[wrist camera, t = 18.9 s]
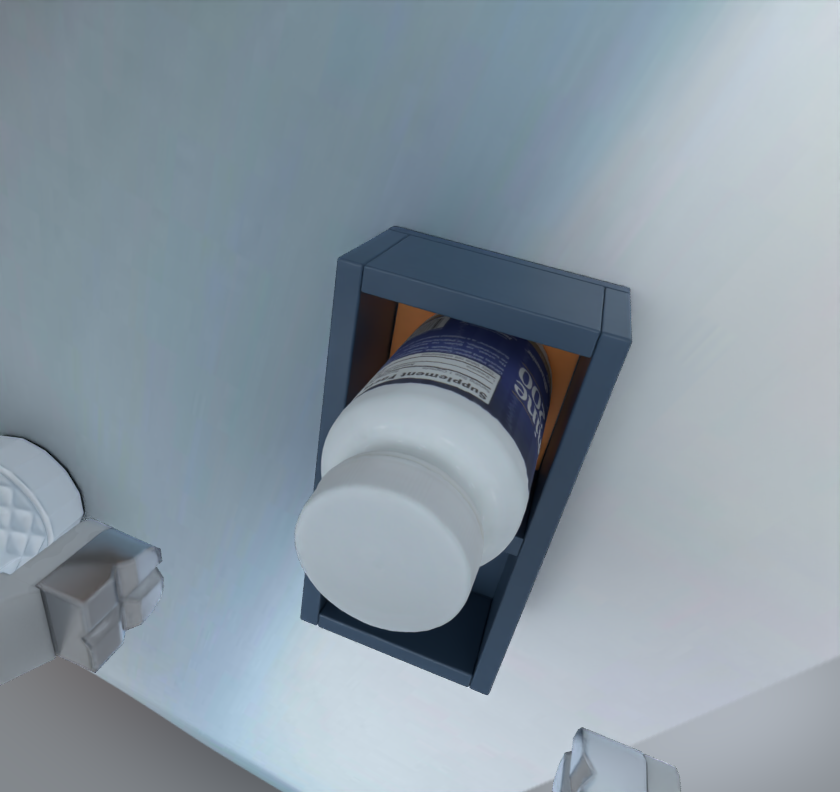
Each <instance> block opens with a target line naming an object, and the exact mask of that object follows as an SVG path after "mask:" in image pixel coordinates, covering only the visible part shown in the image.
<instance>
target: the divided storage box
mask: <svg viewBox="0 0 840 792" xmlns="http://www.w3.org/2000/svg"><path fill="white" fill-rule="evenodd" d="M435 314H440V315H443V316H447V317H450V318H453V319H457V320H460V321H464V322H467V323H471V324H474V325H478V326H481V327H484V328H488V329H491V330H495V331H498V332H502V333H505V334H509V335H512V336H515V337H519V338H522V339H526V340H529V341H533V342H536V343H540V344H542V346H543V348H544V350H545V352H546V353H547V356H548V360H549V363H550V367H551V371H552V393H551V399H550V406H549V410H548V415H547V419H546V424H545V428H544V433H543V437H542V442H541V447H540V452H539V455H538V459H537V463H536V468H535V472H534V476H533V481H532V485H531V490H530V494H529V499H528V503H527V507H526V511H525V513H524V516H523V519H522V522H521V525H520V527H519V529H518V531H517V533H516V535H515V536H514V538H513V540H512V541H511V542H510V544H509V545H508V546H507V547H506V548H505V550H504V551H502V552H501V553H500V554H499V555H498V556H497V557H495V558H494V559H492V560H491V561H489V562H488V563H486V564H484V565H482V566H480V567H479V570H478V572H477V575H476V578H475V581H474V583H473V586H472V589H471V592H470V594H469V597H468V599H467V601H466V603H465V604H464V606H463V608H462V609H461V610H460V612H459V613H458V614H457V615H456V616H455V617H454V618H453V619H452V620H450V621H449V622H448V623H446V624H444V625H442V626H440V627H436V628H434V629H431V630H428V631H420V632H399V631H390V630H386V629H381V628H378V627H374V626H371V625H369V624H366V623H364V622H362V621H360V620H358V619H356V618H354V617H352V616H350V615H348V614H347V613H345V612H344V611H342V610H340V609H339V608H338V607H336V606H335V605H334V604H332V603H331V602H330V601H329V600H328V599H326V598H325V597H324V596H323V595H322V594H321V593H320V592H319V591H318V590H317V588H316V587H315V586H314V585H313V583H312V582H311V581H310V579H309V578H308V576H307V575H306V573H305V578H304V588H303V597H302V607H301V616H300V618H301V619H302V620H304V621H306V622H309V623H311V624H314V625H317V624H318V626H319V627H321V628H324V629H326V630H328V631H331V632H333V633H336V634H338V635H341V636H343V637H346V638H348V639H351V640H353V641H355V642H358V643H360V644H363V645H365V646H368V647H370V648H373V649H375V650H377V651H380V652H382V653H385V654H387V655H390V656H392V657H395V658H397V659H399V660H402V661H404V662H407V663H409V664H412V665H414V666H417V667H419V668H421V669H424V670H426V671H429V672H431V673H434V674H436V675H439V676H441V677H443V678H446V679H448V680H451V681H453V682H456V683H458V684H461V685H463V686H466V687H468V686H470V688H471V689H473V690H475V691H478V692H480V693H482V694H485V695H488V694H489V693H490V690H491V688H492V685H493V683H494V680H495V678H496V676H497V673H498V671H499V668H500V666H501V663H502V661H503V658H504V656H505V653H506V651H507V648H508V646H509V644H510V641H511V639H512V636H513V634H514V631H515V629H516V626H517V624H518V621H519V619H520V617H521V614H522V612H523V609H524V607H525V604H526V602H527V599H528V597H529V594H530V592H531V589H532V587H533V585H534V582H535V580H536V577H537V575H538V572H539V570H540V567H541V565H542V562H543V560H544V558H545V555H546V553H547V550H548V548H549V545H550V543H551V540H552V538H553V535H554V533H555V530H556V528H557V526H558V523H559V521H560V518H561V516H562V513H563V511H564V508H565V506H566V503H567V501H568V499H569V496H570V494H571V491H572V489H573V486H574V484H575V481H576V479H577V476H578V474H579V471H580V469H581V467H582V464H583V462H584V459H585V457H586V454H587V452H588V449H589V447H590V444H591V442H592V440H593V437H594V435H595V432H596V430H597V427H598V425H599V422H600V420H601V417H602V415H603V412H604V410H605V408H606V405H607V403H608V400H609V398H610V395H611V393H612V390H613V388H614V385H615V383H616V381H617V378H618V376H619V373H620V371H621V368H622V366H623V363H624V361H625V358H626V356H627V353H628V351H629V349H630V346H631V344H632V329H631V302H630V289H629V288H627V287H623V286H619V285H616V284H612V283H608V282H604V281H600V280H597V279H593V278H589V277H585V276H582V275H578V274H574V273H570V272H567V271H563V270H559V269H555V268H551V267H548V266H544V265H540V264H536V263H533V262H529V261H525V260H521V259H517V258H514V257H510V256H506V255H502V254H499V253H495V252H491V251H487V250H484V249H480V248H476V247H472V246H468V245H465V244H461V243H457V242H453V241H450V240H446V239H442V238H438V237H434V236H431V235H427V234H423V233H419V232H416V231H412V230H408V229H404V228H401V227H397V226H393V227H391V228H389V229H388V230H386V231H385V232H383V233H381V234H379V235H378V236H376V237H374V238H372V239H371V240H369V241H367V242H365V243H364V244H362V245H360V246H358V247H357V248H355V249H353V250H351V251H350V252H348V253H346V254H344V255H343V256H341V257H339V258H338V261H337V271H336V281H335V290H334V300H333V309H332V319H331V329H330V338H329V348H328V357H327V367H326V377H325V386H324V396H323V405H322V415H321V425H320V434H319V444H318V453H317V463H316V473H315V482H314V491H315V490H316V488H317V486H318V484H319V482H320V481H321V479H322V477H321V459H322V451H323V447H324V443H325V440H326V438H327V435H328V433H329V431H330V429H331V427H332V425H333V424H334V422H335V421H336V419H337V418H338V417H339V415H340V414H341V412H342V411H343V410H344V409H345V408H346V407H347V406H348V405H349V404H350V403H351V401H352V400H353V399H354V398H355V397H356V396H357V395H358V394H359V392H360V391H361V390H362V389H363V388H364V387H365V386H366V385H367V383H368V382H369V381H370V380H371V379H372V378H373V377H374V376H375V375H376V373H377V372H378V371H379V370H380V369H381V368H382V366H383V365H384V364H385V363H386V362H387V361H388V360H389V359H390V357H391V356H392V355H393V354H394V353H395V352H396V351H397V350H398V349H399V347H400V346H401V345H402V344H403V343H404V342H405V341H406V340H407V339H408V338H409V336H411V335H412V334H413V333H414V331H415V330H416V329H417V328H418V327H419V326H421V325H422V324H423V323H424V322H425V321H426V320H428V319H429V318H430V317H432V316H434V315H435ZM313 493H314V492H313Z"/></svg>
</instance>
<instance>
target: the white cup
mask: <svg viewBox="0 0 840 792" xmlns="http://www.w3.org/2000/svg"><path fill="white" fill-rule="evenodd" d="M83 514H84V512H83V507H82V501H81V497H80V493H79V491H78V489H77V488H76V486H75V484H74V483H73V481H72V479H71V478H70V476H69V474H68V473H67V471H66V470H65V469H64V468H63V467H62V466H61V465H60V464H59V463H58V462H57V461H56V460H55V459H54V458H53V457H52V456H51V455H50V454H49V453H47V452H46V451H45V450H43V449H42V448H40V447H38V446H36V445H35V444H33V443H31V442H29V441H27V440H25V439H23V438H17V437H10V436H0V573H2V572H5V573H7V574H9V575H10V574H12V573H13V572H14V571H16V570H17V569H18V568H20V567H21V566H22V565H24V564H25V563H26V562H28V561H29V560H30V559H32V558H33V557H34V556H36V555H37V554H38V553H40V552H41V551H42V550H44V549H45V548H47V547H48V546H49V545H51V544H52V543H53V542H55V541H56V540H57V539H59V538H60V537H61V536H63V535H64V534H65V533H67V532H68V531H69V530H71V529H72V528H73V527H75V526H76V525H77V524H79V523H80V521H81V519H82V516H83Z"/></svg>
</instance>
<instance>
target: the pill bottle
mask: <svg viewBox="0 0 840 792" xmlns="http://www.w3.org/2000/svg"><path fill="white" fill-rule="evenodd" d="M551 393H552V371H551V367H550V363H549V360H548V356H547V353H546V352H545V350H544V348H543V346H542V344H540V343H536V342H533V341H529V340H526V339H522V338H519V337H515V336H512V335H509V334H505V333H502V332H498V331H495V330H491V329H488V328H484V327H481V326H478V325H474V324H471V323H467V322H464V321H460V320H457V319H453V318H450V317H447V316H443V315H440V314H435V315H434V316H432V317H430V318H429V319H428V320H426V321H425V322H424V323H423V324H422V325H421V326H419V327H418V328H417V329H416V330H415V331H414V333H413V334H412V335H411V336H409V338H408V339H407V340H406V341H405V342H404V343H403V344H402V345H401V346H400V347H399V349H398V350H397V351H396V352H395V353H394V354H393V355H392V356H391V357H390V359H389V360H388V361H387V362H386V363H385V364H384V365H383V366H382V368H381V369H380V370H379V371H378V372H377V373H376V375H375V376H374V377H373V378H372V379H371V380H370V381H369V382H368V383H367V385H366V386H365V387H364V388H363V389H362V390H361V391H360V392H359V394H358V395H357V396H356V397H355V398H354V399H353V400H352V401H351V403H350V404H349V405H348V406H347V407H346V408H345V409H344V410H343V411H342V412H341V414H340V415H339V417H338V418H337V419H336V421H335V422H334V424H333V425H332V427H331V429H330V431H329V433H328V435H327V438H326V440H325V443H324V447H323V451H322V459H321V477H322V479H321V481H320V482H319V484H318V486H317V488H316V490H315V491H314V493H313V494H312V495H311V497H310V498H309V500H308V501H307V502H306V504H305V505H304V507H303V509H302V511H301V513H300V515H299V517H298V520H297V523H296V527H295V548H296V551H297V554H298V558H299V561H300V563H301V566H302V568H303V570H304V571H305V573H306V575H307V576H308V578H309V579H310V581H311V582H312V583H313V585H314V586H315V587H316V588H317V590H318V591H319V592H320V593H321V594H322V595H323V596H324V597H325V598H326V599H328V600H329V601H330V602H331V603H332V604H334V605H335V606H336V607H338V608H339V609H340V610H342V611H344V612H345V613H347V614H348V615H350V616H352V617H354V618H356V619H358V620H360V621H362V622H364V623H366V624H369V625H371V626H374V627H378V628H381V629H386V630H390V631H399V632H420V631H428V630H431V629H434V628H436V627H440V626H442V625H444V624H446V623H448V622H449V621H450V620H452V619H453V618H454V617H455V616H456V615H457V614H458V613H459V612H460V610H461V609H462V608H463V606H464V604H465V603H466V601H467V599H468V597H469V594H470V592H471V589H472V586H473V583H474V581H475V578H476V575H477V572H478V570H479V567H480V566H482V565H484V564H486V563H488V562H489V561H491V560H492V559H494V558H495V557H497V556H498V555H499V554H500V553H501V552H502V551H504V550H505V548H506V547H507V546H508V545H509V544H510V542H511V541H512V540H513V538H514V536H515V535H516V533H517V531H518V529H519V527H520V525H521V522H522V519H523V516H524V513H525V511H526V507H527V503H528V499H529V494H530V490H531V485H532V481H533V476H534V472H535V468H536V463H537V459H538V455H539V452H540V447H541V442H542V437H543V433H544V428H545V424H546V419H547V415H548V410H549V406H550V399H551Z"/></svg>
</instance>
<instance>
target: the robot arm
mask: <svg viewBox="0 0 840 792" xmlns="http://www.w3.org/2000/svg"><path fill="white" fill-rule="evenodd" d="M161 562H162V557H161V549H160V548H158V547H155V546H153V545H151V544H148V543H146V542H144V541H142V540H139V539H137V538H135V537H133V536H130V535H128V534H126V533H124V532H121V531H119V530H117V529H115V528H113V527H111V526H108V525H106V524H104V523H101V522H99V521H96V520H94V519H92V518H91V519H88V520H85V521H82V522H80V523H79V524H77V525H76V526H75V527H73V528H72V529H71V530H69V531H68V532H67V533H65V534H64V535H63V536H61V537H60V538H59V539H57V540H56V541H55V542H53V543H52V544H51V545H49V546H48V547H47V548H45V549H44V550H42V551H41V552H40V553H38V554H37V555H36V556H34V557H33V558H32V559H30V560H29V561H28V562H26V563H25V564H24V565H22V566H21V567H20V568H18V569H17V570H16V571H14V572H13V573H12V574H10V575H9V574H7V573H5V572H2V573H0V685H2V684H5V683H7V682H9V681H11V680H13V679H15V678H17V677H19V676H21V675H23V674H25V673H27V672H29V671H31V670H33V669H35V668H37V667H39V666H41V665H43V664H45V663H47V662H49V661H52V660H53V659H55V658H56V656H59V657H61V658H63V659H65V660H68V661H70V662H72V663H74V664H76V665H79V666H81V667H83V668H85V669H88V670H90V671H92V672H94V673H96V672H97V671H98V670H99V669H100V668H101V666H102V665H103V664H104V663H105V662H106V661H107V660H108V659H109V658H110V657H111V656H112V655H113V654H114V653H115V652H116V651H117V650H118V649H119V648H120V647H121V646H122V644H123V643H124V637H125V631H126V630H129V629H131V628H134V627H136V626H139V625H141V624H142V623H143V622H144V621H145V620H146V619H147V618H148V617H149V616H150V614H151V613H152V612H153V611H154V609H155V607H156V605H157V604H158V602H159V600H160V598H161V596H162V592H163V588H164V581H163V576H162V575H161V573H160V572H159V570H158V568H157V566H158V565H159V564H160V563H161ZM552 792H681V786H680V776H679V774H678V771H677V768H676V767H674V766H673V765H671V764H669V763H666V762H663V761H661V760H659V759H656V758H654V757H651V756H649V755H646V754H643V753H642V752H641V751H639V750H637V749H634V748H632V747H630V746H627V745H625V744H622V743H620V742H617V741H615V740H612V739H610V738H607V737H605V736H602V735H600V734H598V733H595V732H593V731H590V730H588V729H585V728H583V727H582V728H580V729H578V731H577V733H576V734H575V736H574V738H573V746H572V751H570V752H566V753H565V754H564V756H563V758H562V759H561V761H560V763H559V766H558V769H557V772H556V775H555V779H554V783H553V788H552Z"/></svg>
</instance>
